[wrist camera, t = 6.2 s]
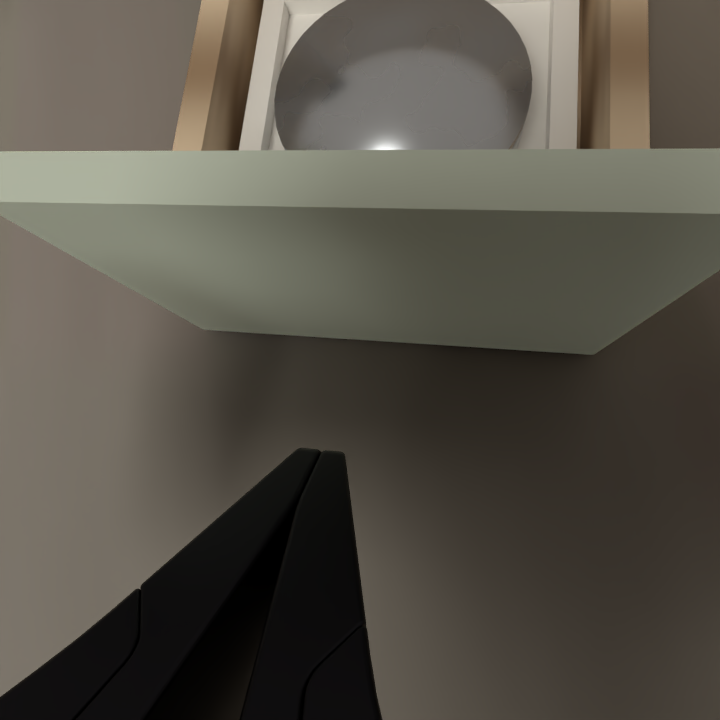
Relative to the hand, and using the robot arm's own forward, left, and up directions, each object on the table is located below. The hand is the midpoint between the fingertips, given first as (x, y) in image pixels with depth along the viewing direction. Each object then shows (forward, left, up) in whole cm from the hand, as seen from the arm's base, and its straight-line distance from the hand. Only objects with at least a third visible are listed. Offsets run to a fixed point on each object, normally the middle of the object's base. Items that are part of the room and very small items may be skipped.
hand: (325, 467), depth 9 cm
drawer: (+7, +8, -7) cm, 13 cm away
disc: (+7, +9, -6) cm, 13 cm away
